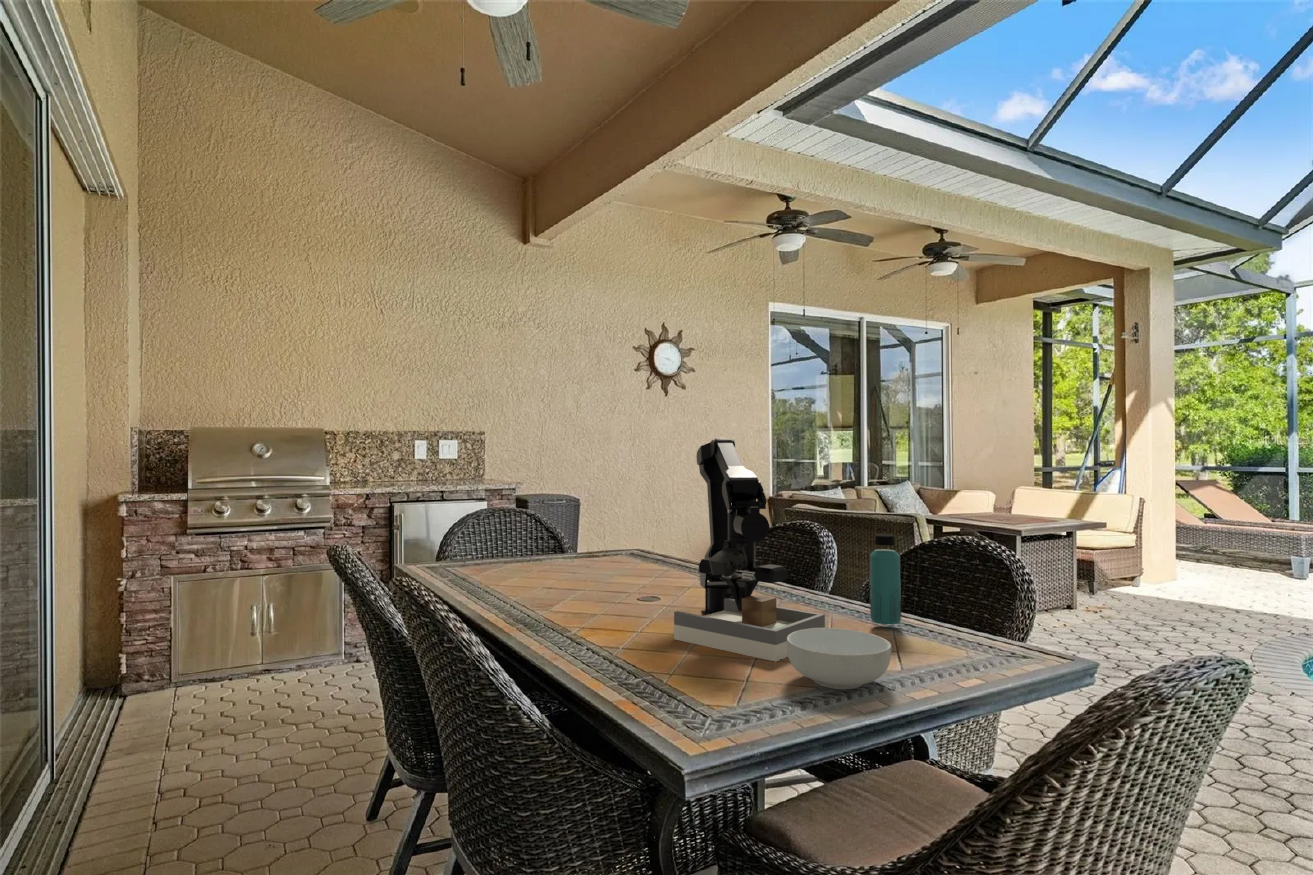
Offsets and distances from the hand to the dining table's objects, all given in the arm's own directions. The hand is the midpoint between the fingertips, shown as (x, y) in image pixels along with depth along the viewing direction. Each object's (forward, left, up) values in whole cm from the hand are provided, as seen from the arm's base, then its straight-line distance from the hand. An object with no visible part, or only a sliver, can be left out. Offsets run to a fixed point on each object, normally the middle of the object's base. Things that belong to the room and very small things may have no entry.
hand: (741, 611), depth 159 cm
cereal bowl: (+30, -15, -5) cm, 34 cm away
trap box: (+4, -3, -5) cm, 7 cm away
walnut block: (+4, 0, -2) cm, 5 cm away
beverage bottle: (+20, +25, -5) cm, 32 cm away
